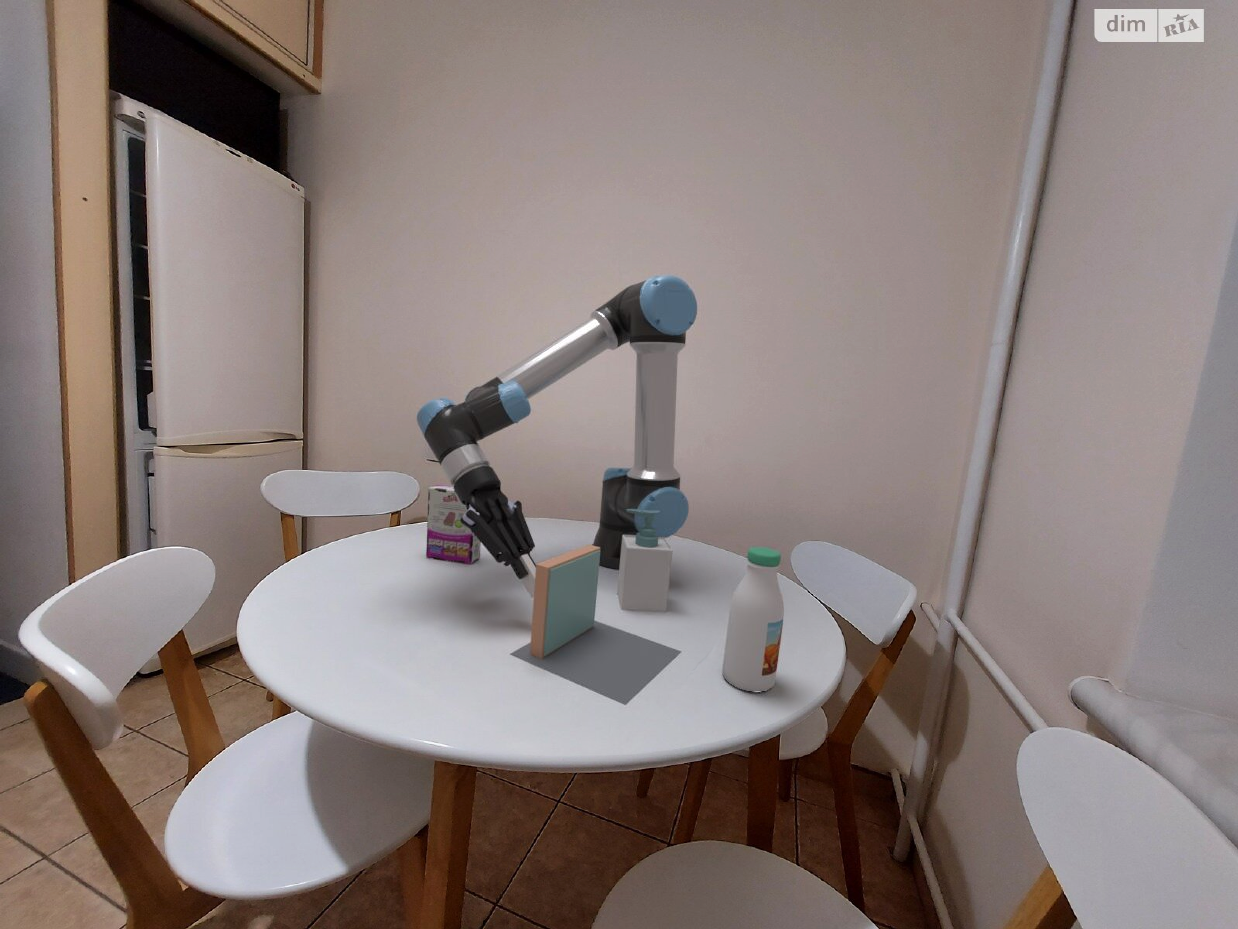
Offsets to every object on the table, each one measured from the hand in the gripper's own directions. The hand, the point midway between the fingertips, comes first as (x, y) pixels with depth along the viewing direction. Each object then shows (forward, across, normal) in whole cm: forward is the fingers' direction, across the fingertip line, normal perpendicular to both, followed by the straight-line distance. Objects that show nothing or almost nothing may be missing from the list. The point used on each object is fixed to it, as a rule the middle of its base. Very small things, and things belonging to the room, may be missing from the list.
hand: (539, 592), depth 85 cm
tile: (+9, 0, 0) cm, 9 cm away
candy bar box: (-21, -16, -32) cm, 41 cm away
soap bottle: (+11, -22, 0) cm, 25 cm away
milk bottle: (+29, -9, +18) cm, 35 cm away
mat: (+14, 0, +4) cm, 14 cm away
